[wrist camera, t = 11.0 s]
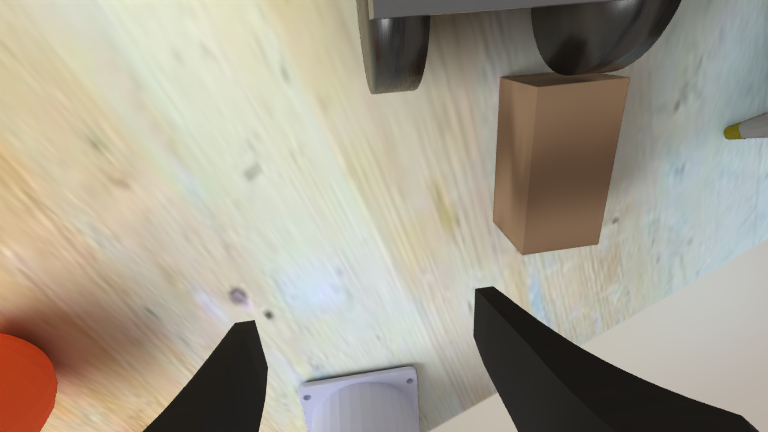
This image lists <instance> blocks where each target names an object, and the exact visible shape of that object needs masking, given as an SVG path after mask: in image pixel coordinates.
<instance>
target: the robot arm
mask: <svg viewBox="0 0 768 432" xmlns="http://www.w3.org/2000/svg"><path fill="white" fill-rule="evenodd" d="M473 336H474V339H475V342H476V345H477V347H478V350H479V353H480V356H481V358H482V361H483V364H484V366H485V368H486V370H487V372H488V374H489V376H490V378H491V380H492V382H493V384H494V385H495V387H496V389H497V391H498V393H499V395H500V397H501V399H502V401H503V403H504V405H505V407H506V408H507V410H508V412H509V415H510V416H511V418H512V420H513V422H514V424H515V426H516V428H517V430H518V432H759V431H758V430H757V429H756V428H755V427H754V426H753V425H751V424H750V423H749V422H748V421H747V420H746V419H745V418H743V417H742V416H741V415H738V414H735V413H732V412H729V411H726V410H723V409H720V408H717V407H714V406H711V405H708V404H705V403H702V402H699V401H696V400H693V399H691V398H688V397H685V396H683V395H680V394H678V393H675V392H673V391H670V390H668V389H665V388H662V387H660V386H658V385H655V384H653V383H650V382H648V381H646V380H643V379H641V378H639V377H637V376H635V375H633V374H630V373H628V372H626V371H624V370H622V369H620V368H618V367H616V366H614V365H612V364H610V363H608V362H606V361H604V360H602V359H600V358H598V357H597V356H595V355H593V354H591V353H589V352H587V351H586V350H584V349H582V348H581V347H579V346H577V345H575V344H574V343H572V342H571V341H569V340H567V339H566V338H564V337H563V336H561V335H560V334H558V333H556V332H555V331H553V330H552V329H550V328H549V327H548V326H546V325H545V324H543V323H542V322H540V321H539V320H537V319H536V318H535V317H533V316H532V315H531V314H529V313H528V312H526V311H525V310H524V309H522V308H521V307H520V306H518V305H517V304H516V303H514V302H513V301H512V300H511V299H509V298H508V297H507V296H505V295H504V294H503V293H501V292H500V291H499V290H497V289H496V288H495V287H493V286H492V287H485V288H478V289H475V310H474V335H473ZM267 373H268V366H267V362H266V359H265V355H264V352H263V348H262V345H261V341H260V337H259V334H258V330H257V327H256V323H255V320H253V321H246V322H239V323H235V324H234V325H233V326H232V327H231V329H230V330H229V331H228V333H227V334H226V335H225V337H224V338H223V339H222V340H221V342H220V343H219V344H218V346H217V347H216V348H215V350H214V351H213V352H212V354H211V355H210V356H209V358H208V359H207V360H206V361H205V363H204V364H203V365H202V366H201V368H200V369H199V370H198V371H197V373H196V374H195V375H194V376H193V378H192V379H191V380H190V381H189V382H188V384H187V385H186V386H185V387H184V388H183V389H182V390H181V392H180V393H179V394H178V395H177V396H176V397H175V398H174V400H173V401H172V402H171V403H170V404H169V405H168V406H167V407H166V408H165V410H164V411H163V412H162V413H161V414H160V415H159V416H158V417H157V418H156V419H155V420H154V421H153V422H152V423H151V424H150V425H149V426H148V427H147V428H146V429H145V430H144V431H143V432H259V427H260V422H261V417H262V413H263V408H264V403H265V396H266V386H267ZM409 378H411V379H409ZM299 397H300V401H301V406H302V410H303V414H304V418H305V422H306V426H307V431H308V432H420V429H419V407H418V386H417V372H416V369H415V368H414V367H412V366H408V367H402V368H395V369H389V370H383V371H376V372H370V373H364V374H357V375H351V376H345V377H339V378H332V379H326V380H320V381H313V382H307V383H303V384H301V385H300V386H299Z"/></svg>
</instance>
